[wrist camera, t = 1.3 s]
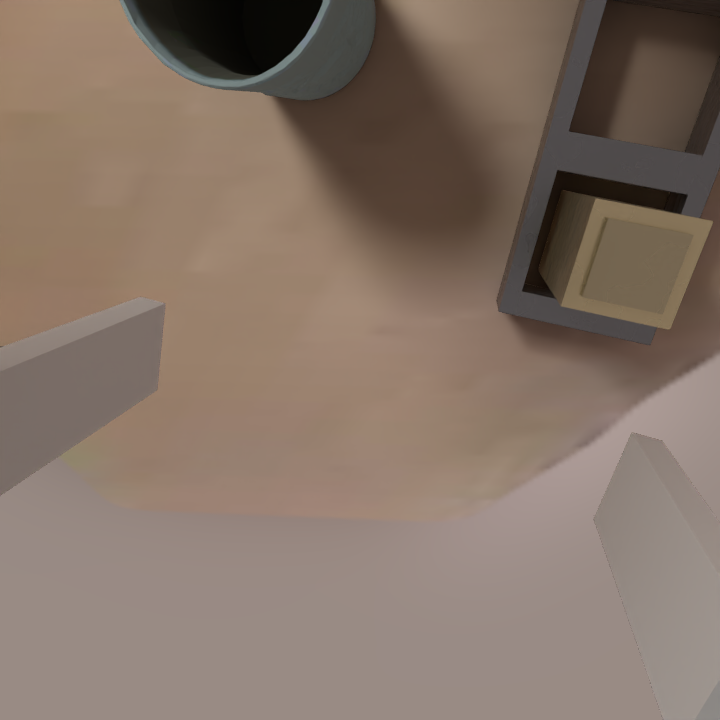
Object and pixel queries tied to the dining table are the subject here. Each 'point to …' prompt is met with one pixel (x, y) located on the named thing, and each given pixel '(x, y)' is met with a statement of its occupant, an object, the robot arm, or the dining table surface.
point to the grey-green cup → (259, 42)
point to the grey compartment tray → (606, 173)
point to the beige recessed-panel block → (621, 258)
